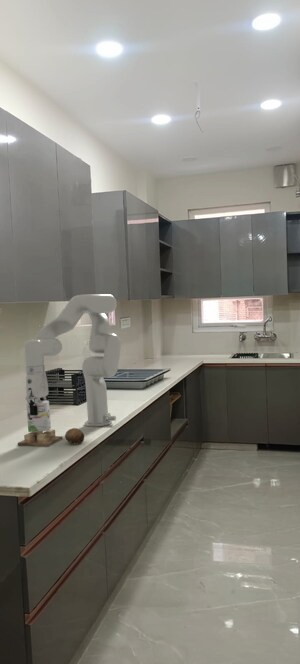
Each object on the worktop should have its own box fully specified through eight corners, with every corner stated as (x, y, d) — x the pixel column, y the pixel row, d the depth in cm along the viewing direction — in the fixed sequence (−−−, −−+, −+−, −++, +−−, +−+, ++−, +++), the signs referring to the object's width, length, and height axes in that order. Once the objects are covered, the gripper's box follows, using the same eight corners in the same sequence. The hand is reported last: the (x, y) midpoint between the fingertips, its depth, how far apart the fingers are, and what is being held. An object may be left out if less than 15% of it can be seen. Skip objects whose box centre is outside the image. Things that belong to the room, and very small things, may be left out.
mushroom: (61, 434, 207) (67, 422, 205) (79, 438, 210) (85, 427, 208) (62, 447, 201) (68, 436, 198) (80, 452, 204) (87, 440, 201)
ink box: (27, 432, 207) (25, 403, 206) (30, 429, 212) (28, 401, 211) (48, 430, 207) (46, 402, 206) (51, 428, 212) (49, 400, 211)
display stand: (33, 437, 217) (33, 428, 217) (62, 438, 213) (61, 429, 213) (17, 445, 206) (16, 435, 206) (47, 446, 201) (47, 436, 201)
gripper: (31, 372, 199) (35, 418, 200) (54, 367, 215) (57, 409, 216) (15, 373, 201) (18, 418, 202) (38, 367, 217) (41, 409, 218)
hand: (38, 413), depth 209 cm, fingers closed on ink box, 6 cm apart
